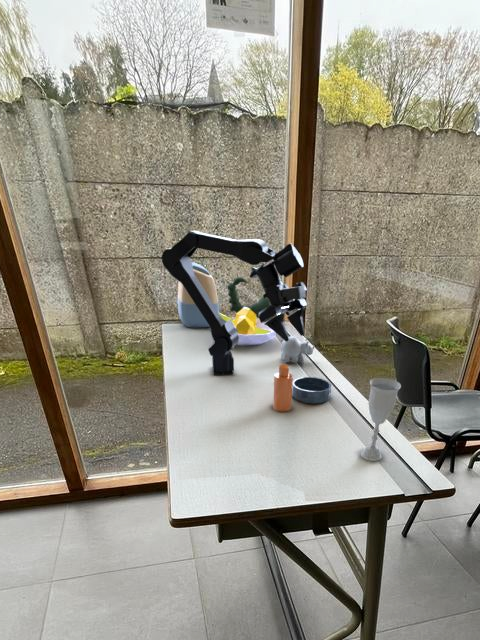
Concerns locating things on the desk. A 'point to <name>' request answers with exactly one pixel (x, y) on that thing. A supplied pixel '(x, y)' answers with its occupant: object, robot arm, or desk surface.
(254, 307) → the toy figurine
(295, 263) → the robot arm
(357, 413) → the desk surface
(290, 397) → the orange bottle
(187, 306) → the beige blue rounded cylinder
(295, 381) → the bowl
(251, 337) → the fruit bowl
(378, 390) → the chalice
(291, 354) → the round bodied animal figurine
